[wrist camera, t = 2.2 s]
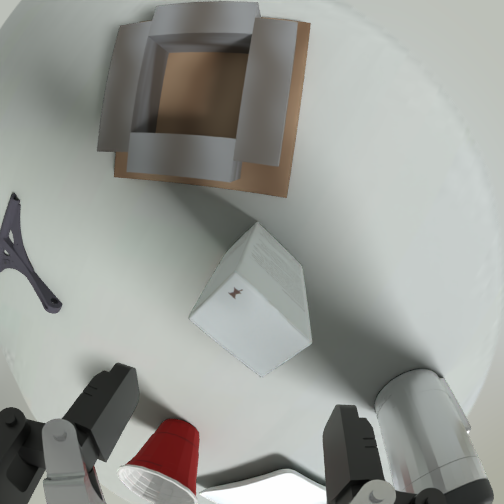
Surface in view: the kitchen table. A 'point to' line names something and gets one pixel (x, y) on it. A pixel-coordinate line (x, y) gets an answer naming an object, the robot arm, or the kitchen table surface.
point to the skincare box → (256, 303)
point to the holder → (206, 97)
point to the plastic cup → (165, 465)
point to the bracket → (22, 256)
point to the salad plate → (269, 490)
